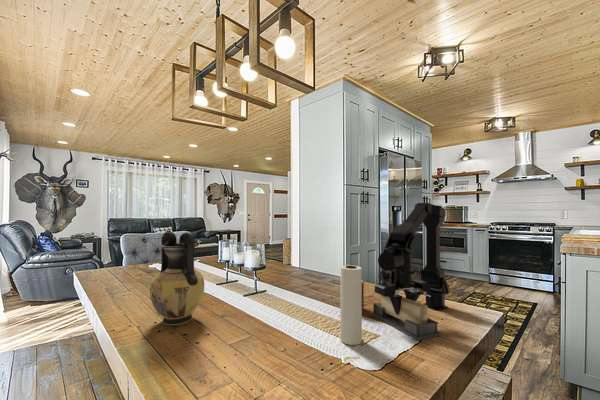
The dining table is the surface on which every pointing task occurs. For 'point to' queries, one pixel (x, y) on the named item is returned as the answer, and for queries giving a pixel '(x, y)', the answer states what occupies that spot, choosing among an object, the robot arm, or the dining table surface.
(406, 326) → the bracket
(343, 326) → the paper towel roll
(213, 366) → the dining table surface
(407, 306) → the beige rectangular block
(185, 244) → the amphora
